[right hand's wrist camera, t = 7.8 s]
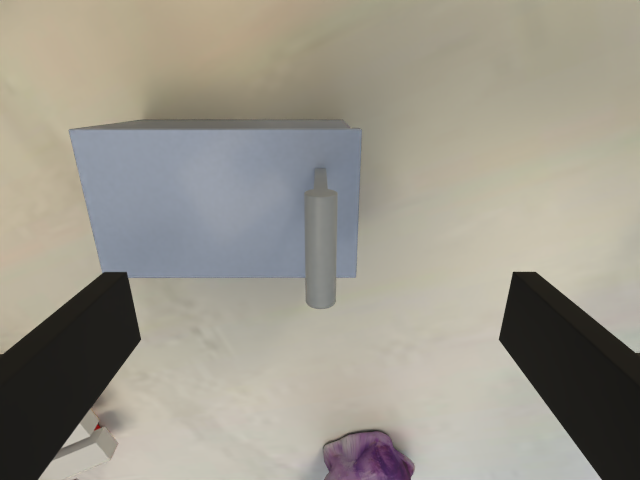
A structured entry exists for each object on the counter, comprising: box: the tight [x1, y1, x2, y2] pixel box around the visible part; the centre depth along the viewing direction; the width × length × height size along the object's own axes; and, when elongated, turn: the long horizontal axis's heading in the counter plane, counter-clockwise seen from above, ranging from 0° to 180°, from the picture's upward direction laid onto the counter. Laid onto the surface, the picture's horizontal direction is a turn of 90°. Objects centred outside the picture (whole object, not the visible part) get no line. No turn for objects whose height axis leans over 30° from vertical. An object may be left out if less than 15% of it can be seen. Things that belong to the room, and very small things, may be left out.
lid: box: [69, 128, 362, 309], centre depth 21 cm, size 18×10×9 cm, turn 90°
